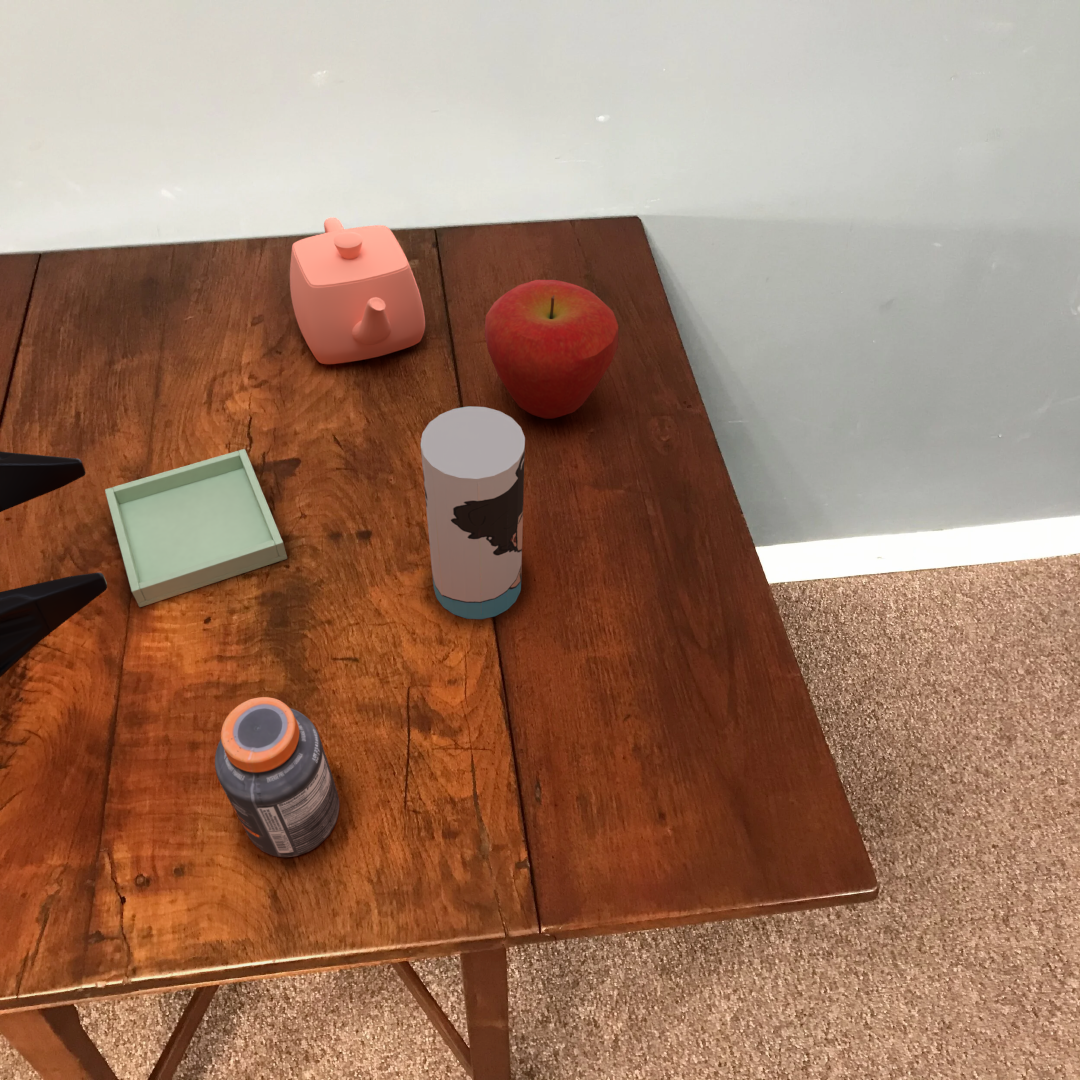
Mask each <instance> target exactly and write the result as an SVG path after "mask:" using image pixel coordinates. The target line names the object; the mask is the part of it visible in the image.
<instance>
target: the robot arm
mask: <svg viewBox="0 0 1080 1080" xmlns="http://www.w3.org/2000/svg"><path fill="white" fill-rule="evenodd" d="M84 465H85V464H84V463H83V461H82V459H80V458H76V457H65V456H64V457H63V456H53V455H42V454H30V453H20V452H9V451H1V450H0V513H2V512H5V511H6V510H9V509H12V508H14V507H17V506H19V505H22V504H24V503H26V502H29V501H31V500H34V499H36V498H39V497H41V496H44V495H46V494H48V493H51V492H54V491H56V490H58V489H60V488H61V489H62V488H63V487H66V486H67V485H70V484H71V483H73V482H75V481H77V480H79V479H82V478H84V477H85V476H86V473H87V472H86V468H85V466H84ZM107 589H108V582H107V580H106V578H105V575H104V574H103V573H102V572H91V573H84V574H77V575H70V576H66V577H61V578H57V579H51V580H47V581H42V582H39V583H38V582H37V583H34V584H29V585H25V586H21V587H16V588H12V589H7V590H2V591H0V678H1V677H2V676H3V675H5V674H6V673H7V672H8V671H9V670H10V669H11V668H12V667H13V666H15V665H16V664H17V663H18V662H19V661H20V660H21V659H22V658H23V657H24V656H25V655H27V654H28V653H29V652H30V651H31V650H32V649H33V648H34V647H35V646H37V645H38V644H39V643H40V642H41V641H43V640H44V639H45V638H46V637H47V636H49V635H50V634H51V633H53V631H55V630H56V629H58V628H59V627H60V626H62V625H63V624H64V623H66V622H67V621H68V620H69V619H70V618H72V617H73V616H75V615H76V614H77V613H78V612H80V611H81V610H82V609H84V608H85V607H86V606H87V605H89V604H90V603H92V601H94V600H95V599H97V598H98V597H99V596H100V595H101V594H103V593H104V592H105V591H106V590H107Z"/></svg>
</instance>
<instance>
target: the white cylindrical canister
mask: <svg viewBox="0 0 1080 1080" xmlns="http://www.w3.org/2000/svg"><path fill="white" fill-rule="evenodd" d="M525 449H526V437H525V435H524V432H523V430H522V427H521V426H520V425H519V424H518V422H517V421H516V420H515V419H514V418H513V417H511V416H510V415H508V414H505V412H502V411H501V410H496V409H494V408H489V407H486V406H470V405H469V406H468V405H467V406H462V407H457V408H453V409H449V410H448V411H445V412H443V413H441V414H439V415H438V416H436V417H435V418H434V419H432V420H431V421H429V422H428V424H427V425H426V427H425V428H424V430H423V432H422V434H421V439H420V455H421V465H422V476H423V487H424V488H423V489H424V498H425V509H426V519H427V520H426V521H427V531H428V543H429V554H430V564H431V576H432V586H433V587H432V588H433V590H434V594H435V597H436V600H437V601H438V603H440V605H441V606H442V607H443V608H444V610H446V611H448V612H449V613H451V614H452V615H453V616H457V617H461V618H464V619H467V620H485V619H489V618H495V617H496V616H498V615H501V614H503V613H504V612H507V611H508V609H510V608H511V607H512V606H513V605H514V604H515V603H516V602H517V600H518V598H519V596H520V593H521V592H522V591H521V590H522V571H523V570H522V569H523V567H522V565H523V532H524V531H523V529H524V528H523V527H524V526H523V525H524V489H525V458H526V457H525V453H526V451H525Z"/></svg>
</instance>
